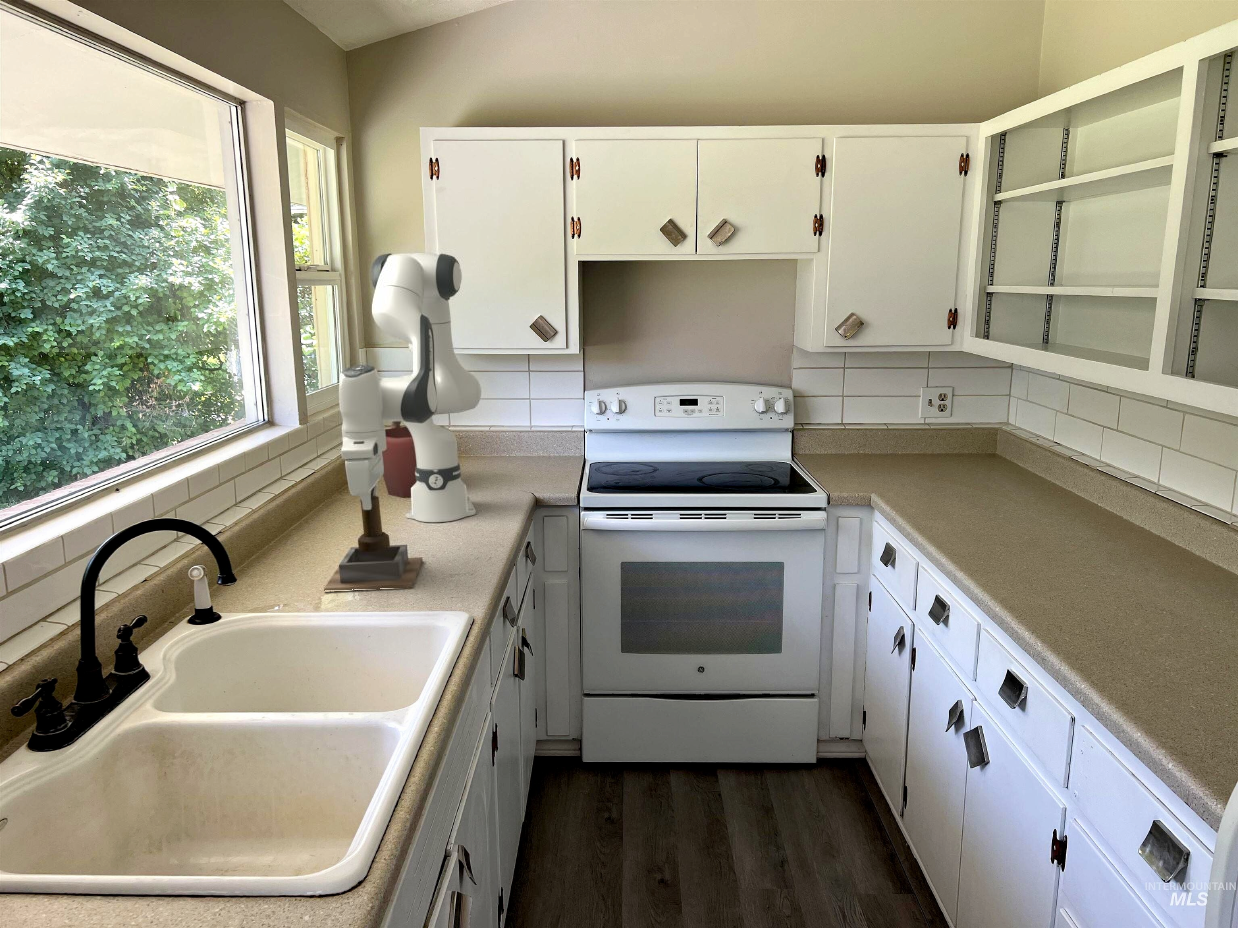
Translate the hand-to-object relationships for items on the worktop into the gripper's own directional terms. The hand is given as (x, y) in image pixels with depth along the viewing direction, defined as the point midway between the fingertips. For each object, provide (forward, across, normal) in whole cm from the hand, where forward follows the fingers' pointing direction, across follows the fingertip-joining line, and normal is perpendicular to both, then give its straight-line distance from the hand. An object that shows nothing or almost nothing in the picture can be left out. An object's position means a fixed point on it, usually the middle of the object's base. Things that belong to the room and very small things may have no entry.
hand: (370, 505), depth 190 cm
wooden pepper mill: (+10, 0, 0) cm, 10 cm away
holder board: (+16, 0, 0) cm, 16 cm away
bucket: (+16, -78, -2) cm, 80 cm away
